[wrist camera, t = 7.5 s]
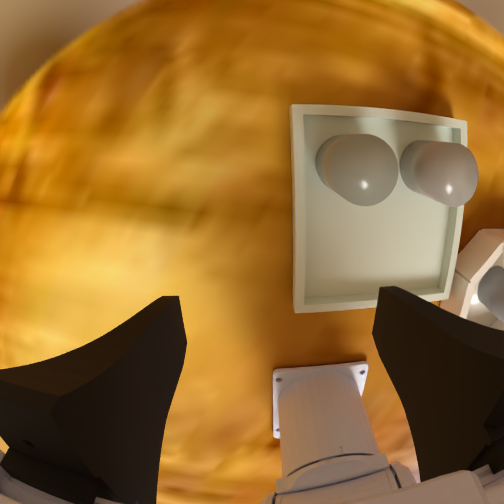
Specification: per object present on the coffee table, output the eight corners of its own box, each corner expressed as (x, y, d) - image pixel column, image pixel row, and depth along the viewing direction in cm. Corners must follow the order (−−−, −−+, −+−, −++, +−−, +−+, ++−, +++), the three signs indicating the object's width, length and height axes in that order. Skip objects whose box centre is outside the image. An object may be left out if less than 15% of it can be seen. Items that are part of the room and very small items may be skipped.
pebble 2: (442, 194, 18) (475, 207, 15) (398, 193, 18) (428, 206, 15) (444, 142, 17) (479, 146, 13) (399, 137, 17) (431, 139, 13)
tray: (438, 289, 21) (448, 299, 20) (292, 301, 22) (294, 313, 20) (454, 121, 17) (467, 121, 15) (288, 107, 17) (291, 104, 16)
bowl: (504, 323, 23) (520, 339, 20) (430, 339, 23) (445, 360, 20) (528, 228, 19) (549, 239, 17) (454, 229, 20) (476, 242, 17)
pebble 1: (371, 192, 18) (397, 206, 15) (315, 192, 19) (331, 206, 15) (371, 135, 17) (398, 136, 13) (314, 133, 17) (330, 132, 14)
